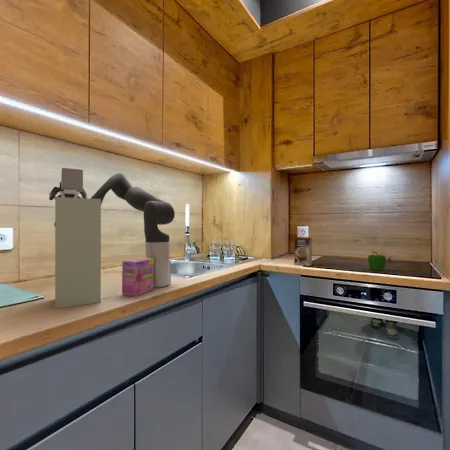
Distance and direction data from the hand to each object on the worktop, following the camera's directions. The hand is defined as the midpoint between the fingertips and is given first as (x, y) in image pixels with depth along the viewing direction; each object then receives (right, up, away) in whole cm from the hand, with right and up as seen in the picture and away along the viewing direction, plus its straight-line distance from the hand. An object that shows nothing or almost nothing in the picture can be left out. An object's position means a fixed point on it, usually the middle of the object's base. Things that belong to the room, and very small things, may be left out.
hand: (70, 183), depth 103 cm
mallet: (+3, -3, -4) cm, 6 cm away
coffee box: (+105, -40, +63) cm, 129 cm away
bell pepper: (+139, -40, +44) cm, 151 cm away
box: (+27, -40, -5) cm, 48 cm away
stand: (+11, -40, -16) cm, 44 cm away
